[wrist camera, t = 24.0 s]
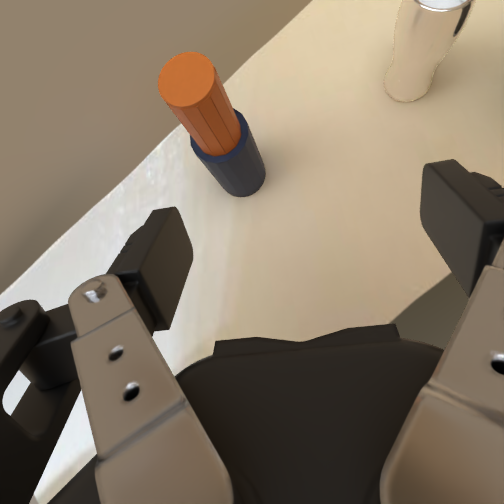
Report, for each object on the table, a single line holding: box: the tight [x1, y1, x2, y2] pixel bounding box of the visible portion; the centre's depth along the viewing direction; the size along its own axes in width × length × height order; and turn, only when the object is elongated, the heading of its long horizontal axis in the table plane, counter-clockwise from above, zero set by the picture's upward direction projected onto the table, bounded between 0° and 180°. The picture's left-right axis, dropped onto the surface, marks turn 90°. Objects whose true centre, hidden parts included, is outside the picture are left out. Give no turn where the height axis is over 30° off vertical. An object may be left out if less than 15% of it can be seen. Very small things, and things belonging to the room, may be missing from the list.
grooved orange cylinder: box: [158, 52, 241, 156], centre depth 33 cm, size 5×5×10 cm
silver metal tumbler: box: [384, 0, 476, 102], centre depth 40 cm, size 7×7×15 cm
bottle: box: [190, 108, 265, 197], centre depth 41 cm, size 7×7×16 cm
